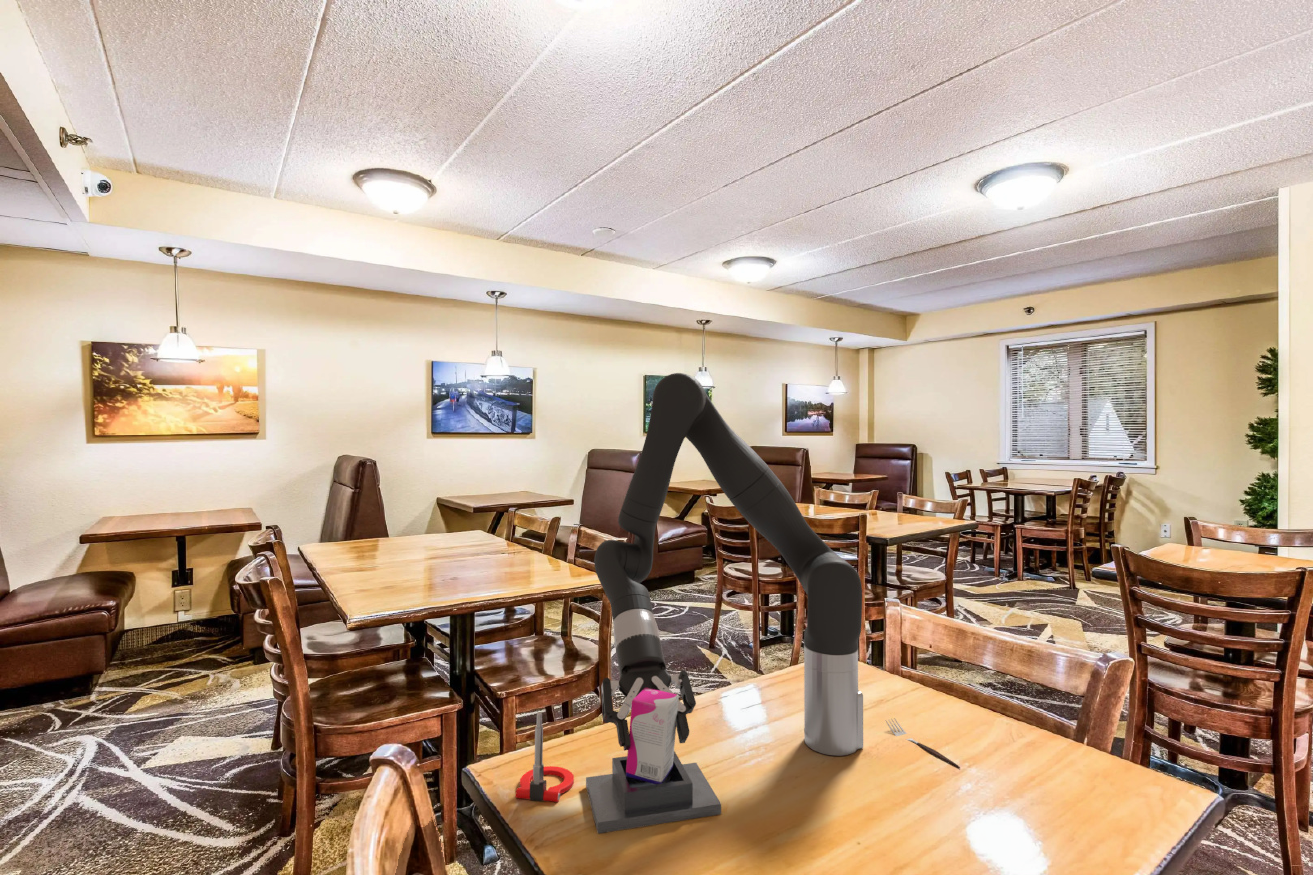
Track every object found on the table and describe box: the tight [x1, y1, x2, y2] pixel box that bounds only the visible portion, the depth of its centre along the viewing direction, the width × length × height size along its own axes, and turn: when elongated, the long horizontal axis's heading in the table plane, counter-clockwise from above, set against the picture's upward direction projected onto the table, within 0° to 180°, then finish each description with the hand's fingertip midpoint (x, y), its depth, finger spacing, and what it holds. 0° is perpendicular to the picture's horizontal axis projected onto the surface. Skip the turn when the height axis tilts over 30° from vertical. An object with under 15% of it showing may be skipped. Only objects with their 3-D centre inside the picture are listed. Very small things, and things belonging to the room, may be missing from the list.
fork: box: [885, 718, 961, 769], centre depth 112 cm, size 3×16×2 cm, turn 23°
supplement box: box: [626, 687, 680, 784], centre depth 96 cm, size 6×6×12 cm
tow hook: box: [515, 711, 575, 803], centre depth 100 cm, size 8×13×9 cm
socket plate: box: [585, 750, 722, 834], centre depth 96 cm, size 18×12×4 cm, turn 104°
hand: (655, 744), depth 94 cm, fingers closed on supplement box, 8 cm apart
